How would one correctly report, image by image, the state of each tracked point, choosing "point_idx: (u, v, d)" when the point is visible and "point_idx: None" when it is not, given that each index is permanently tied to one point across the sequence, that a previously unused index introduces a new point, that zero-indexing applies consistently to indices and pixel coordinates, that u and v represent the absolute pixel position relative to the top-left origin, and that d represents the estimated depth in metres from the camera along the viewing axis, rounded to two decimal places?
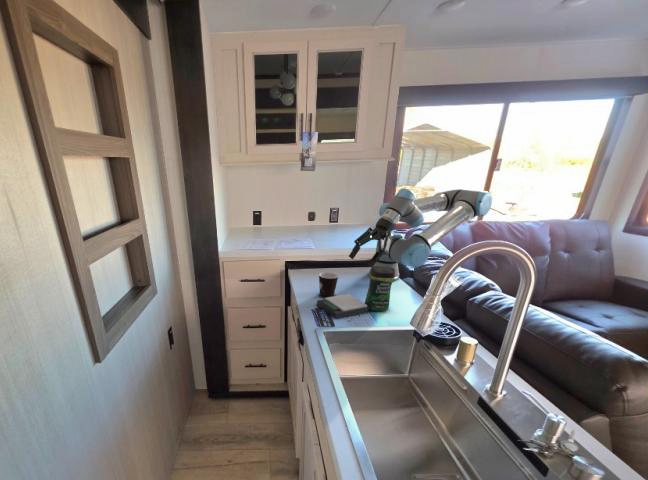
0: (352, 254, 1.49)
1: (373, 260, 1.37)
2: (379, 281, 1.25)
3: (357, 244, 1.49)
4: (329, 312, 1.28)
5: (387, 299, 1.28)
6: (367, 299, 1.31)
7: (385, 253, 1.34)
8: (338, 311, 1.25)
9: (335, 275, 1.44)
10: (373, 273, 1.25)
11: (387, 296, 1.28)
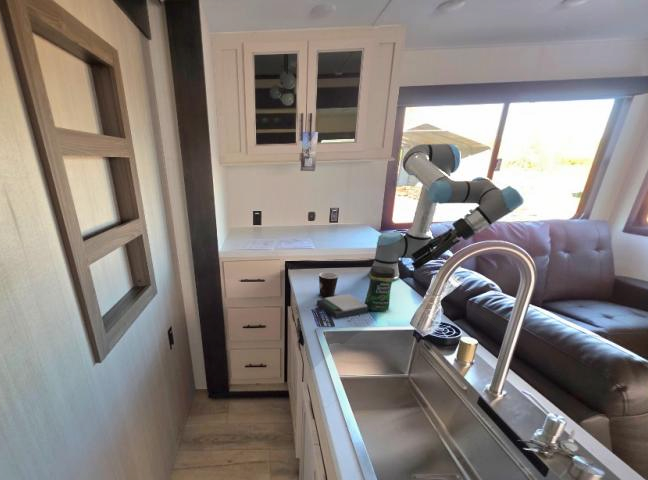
0: (416, 253, 1.25)
1: (419, 261, 1.14)
2: (379, 281, 1.25)
3: (428, 244, 1.23)
4: (329, 312, 1.28)
5: (387, 299, 1.28)
6: (367, 299, 1.31)
7: (433, 256, 1.09)
8: (338, 311, 1.25)
9: (335, 275, 1.44)
10: (373, 273, 1.25)
11: (387, 296, 1.28)
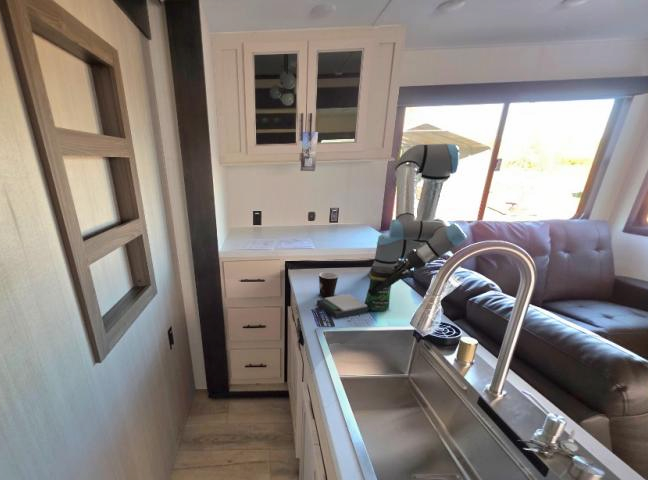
0: None
1: (374, 289, 1.26)
2: (379, 281, 1.25)
3: None
4: (329, 312, 1.28)
5: (387, 299, 1.28)
6: (367, 299, 1.31)
7: (385, 286, 1.21)
8: (338, 311, 1.25)
9: (335, 275, 1.44)
10: (373, 273, 1.26)
11: (387, 296, 1.28)
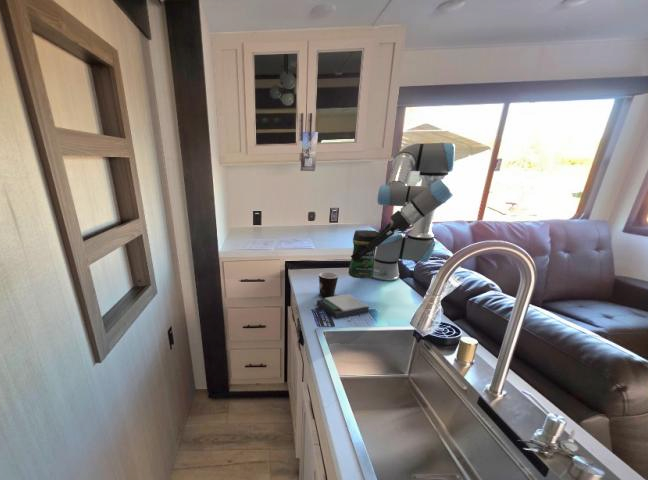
0: None
1: (357, 254, 1.20)
2: (363, 246, 1.19)
3: None
4: (329, 312, 1.28)
5: (371, 265, 1.22)
6: (351, 266, 1.25)
7: (368, 249, 1.15)
8: (338, 311, 1.25)
9: (335, 275, 1.44)
10: (356, 237, 1.19)
11: (371, 262, 1.22)
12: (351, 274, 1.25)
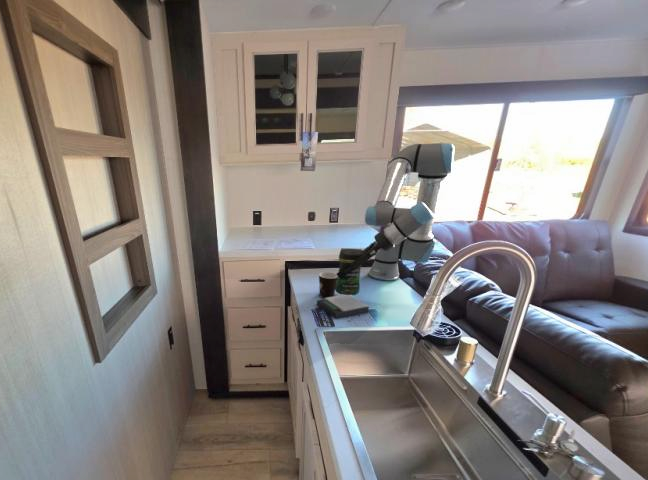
0: None
1: (342, 271, 1.23)
2: (348, 264, 1.22)
3: None
4: (329, 312, 1.28)
5: (357, 282, 1.25)
6: (337, 283, 1.28)
7: (352, 267, 1.19)
8: (338, 311, 1.25)
9: (335, 275, 1.44)
10: (341, 255, 1.23)
11: (356, 279, 1.25)
12: (337, 291, 1.28)
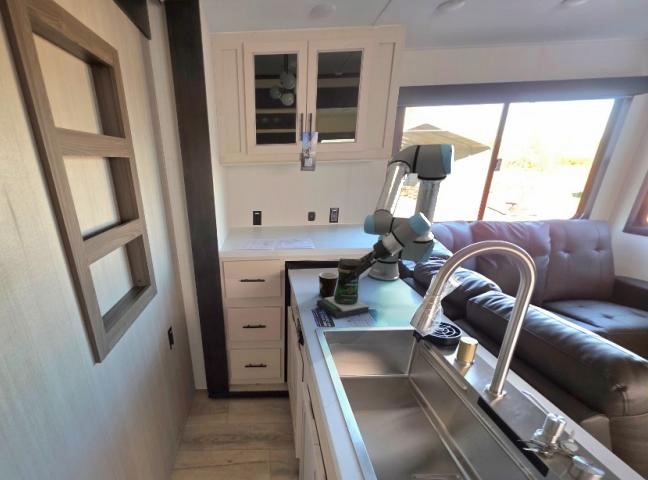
0: None
1: (343, 280, 1.22)
2: None
3: None
4: (329, 312, 1.28)
5: (355, 292, 1.27)
6: (336, 292, 1.30)
7: (353, 276, 1.17)
8: (338, 311, 1.25)
9: (335, 275, 1.44)
10: (340, 265, 1.24)
11: (355, 289, 1.26)
12: (336, 300, 1.30)
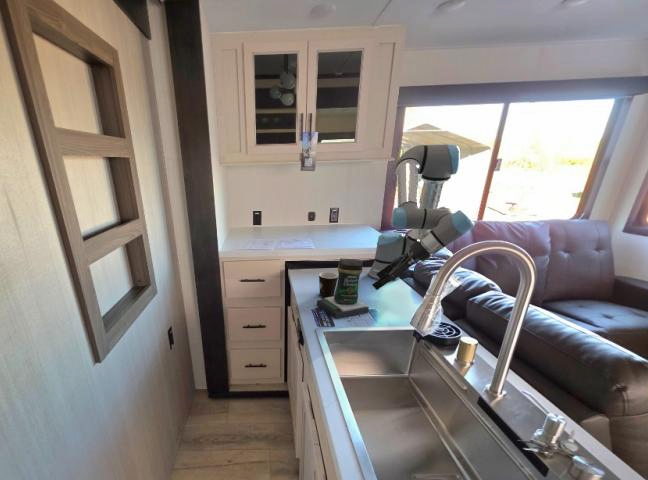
0: (380, 273, 1.29)
1: (379, 282, 1.17)
2: (347, 274, 1.24)
3: (391, 264, 1.26)
4: (329, 312, 1.28)
5: (355, 292, 1.27)
6: (336, 292, 1.30)
7: (390, 278, 1.12)
8: (338, 311, 1.25)
9: (335, 275, 1.44)
10: (340, 265, 1.24)
11: (355, 289, 1.26)
12: (336, 300, 1.30)
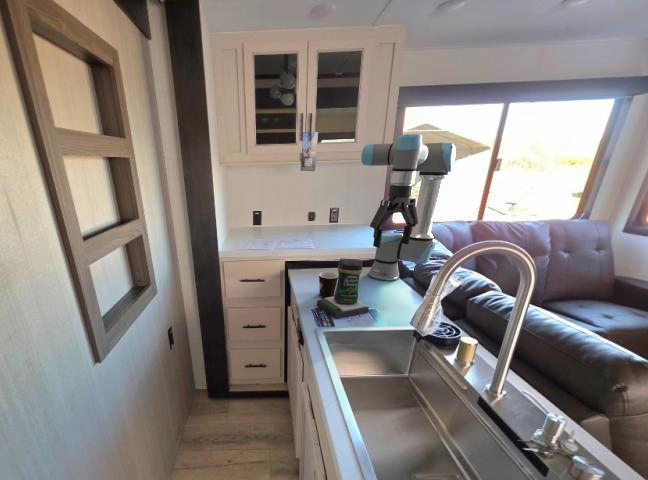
0: (403, 239, 1.19)
1: (375, 239, 1.14)
2: (347, 274, 1.24)
3: (407, 224, 1.17)
4: (329, 312, 1.28)
5: (355, 292, 1.27)
6: (336, 292, 1.30)
7: (372, 227, 1.10)
8: (338, 311, 1.25)
9: (335, 275, 1.44)
10: (340, 265, 1.24)
11: (355, 289, 1.26)
12: (336, 300, 1.30)
